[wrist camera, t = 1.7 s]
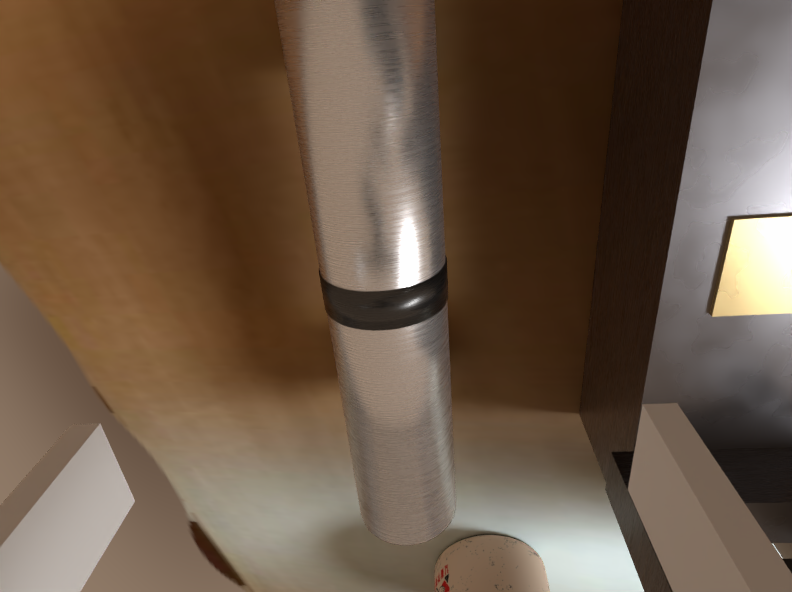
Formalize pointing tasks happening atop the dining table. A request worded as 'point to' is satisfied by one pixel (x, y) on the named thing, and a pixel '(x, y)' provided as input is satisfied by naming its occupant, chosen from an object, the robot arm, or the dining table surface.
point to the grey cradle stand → (697, 253)
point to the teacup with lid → (490, 566)
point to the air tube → (380, 244)
